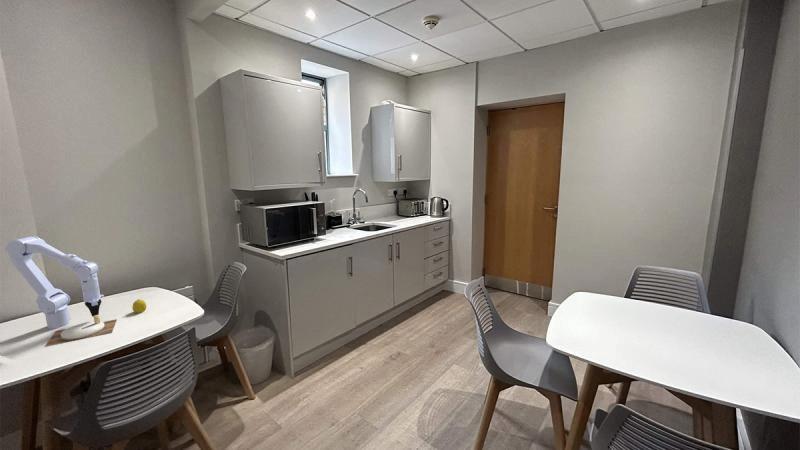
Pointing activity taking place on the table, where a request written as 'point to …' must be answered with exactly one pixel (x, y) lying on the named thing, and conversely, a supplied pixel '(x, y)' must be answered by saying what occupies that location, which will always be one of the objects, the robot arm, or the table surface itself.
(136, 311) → the lemon
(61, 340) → the brown flat wooden board
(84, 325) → the dial
